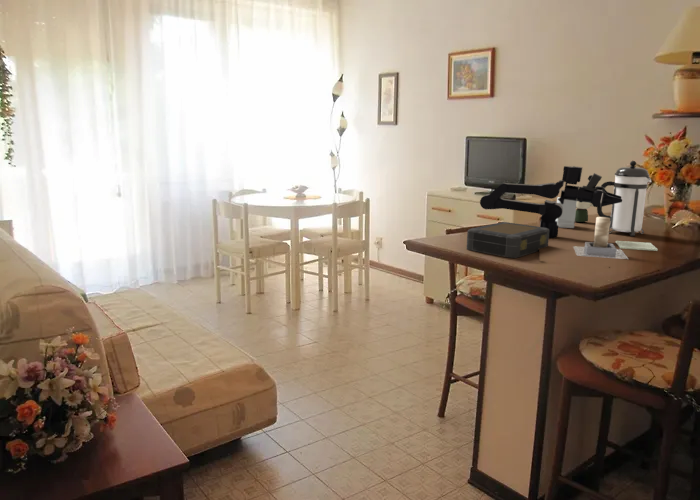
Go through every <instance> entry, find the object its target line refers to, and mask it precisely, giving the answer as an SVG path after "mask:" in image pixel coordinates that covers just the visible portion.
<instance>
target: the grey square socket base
mask: <svg viewBox="0 0 700 500" xmlns="http://www.w3.org/2000/svg"><path fill="white" fill-rule="evenodd" d="M593 244H594V241H593V242H592V241H585V242H584V246H574V245H573V246H572V248H573V250H574V253H575V255H576V256H578V257H579V256H580V257H590V258H591V257H593V258H605V259H607V258H608V259H619V260H629V257H628V256H627V255H626V253H625V252H624V251H623V250H622V248H619V249H618V248H616V246H615V245H614V243H609V242H608V244H607V247H593Z"/></svg>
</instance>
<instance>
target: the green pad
mask: <svg viewBox="0 0 700 500" xmlns="http://www.w3.org/2000/svg"><path fill="white" fill-rule="evenodd" d="M615 244H616V245H617V246H618V248H619V249H621V250H622V249H624V250H625V249H626V250H638V251H653V252H654V251H656V252H658V248H657V247H656V246H655V245H653V243H652V242H642V241H629V240H627V241H626V240H624V241H623V240H615Z"/></svg>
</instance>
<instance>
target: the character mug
mask: <svg viewBox="0 0 700 500" xmlns="http://www.w3.org/2000/svg"><path fill="white" fill-rule="evenodd" d="M590 207H594V206H593V205H592V204H591V203H587V202H579V201H577V203H576V214H575V222H576V223H582V222H583V223H585V222H589V211H588V209H590Z"/></svg>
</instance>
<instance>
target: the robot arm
mask: <svg viewBox="0 0 700 500" xmlns="http://www.w3.org/2000/svg"><path fill="white" fill-rule="evenodd" d="M582 174H583V167H582V166H575V165H571V166H570V165H569V166H567V165H565V166H563V173H562V179H560V180H558V181H557V182H547V183H540V184H539V183H538V184H526V183H511V182H509V183H508V182H502V183H500V184H499V186H497V187H496V188H495V189H494V190H493V191H491V193H487V194H485V195H483V196H482V197H481V198H480V199H479V204H480V207H481V208H482V209H484V210H500V209H503V210H509V211H510V210H511V211H519V212H524V213H525V212H526V213H532V214H538V215H540V220H539V221H540V223H539V227H543V228H548V229H549V239H551V238H552V239H557V236H558V235H559V227H558V225H557V221H555V220H556V219H557V218H559V217H560V216H561V215H562V212H563V207H562V205H561V204H564V200H572V201H579V202H587V203H591V204H592V205H593V206H592V207H594V208H597V207H600V203H601V207H602V208H603V207H607V206H612V204H616V203H620V202H622V199H621V196H618V195H615V194H614V193H612V192H609V191H607V189H606V188H604V187H603V191H602V186H601V185H598V183H599V182H600V181H601V180H602V178H603V177H602V176H601V175H599V174H597V173H595V172H594V173H593V174H592V175H591V174H590V175H589V176H588V178H587V180H588V182H587V184H586V185H582V186H578V183H580V182H581V178H582ZM576 185H577V186H576ZM563 186H564V189H562V188H563ZM504 194H518V195H519V194H520V195H521V194H523V195H535V196H539V197H542V198H547V199H545V201H544V203H535V202H531V201H530V202H529V201H522V200H515V199H508V198H507V199H506V198H504V197H503V196H504ZM559 194H560V195H559ZM559 196H560V198H558V200H559V201H560V202H561V204H559V203H557V200H554V201H551V200H548V199H555V198H557V197H559Z"/></svg>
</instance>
